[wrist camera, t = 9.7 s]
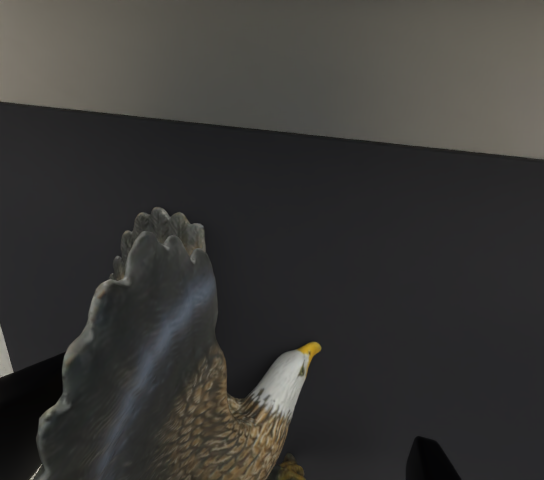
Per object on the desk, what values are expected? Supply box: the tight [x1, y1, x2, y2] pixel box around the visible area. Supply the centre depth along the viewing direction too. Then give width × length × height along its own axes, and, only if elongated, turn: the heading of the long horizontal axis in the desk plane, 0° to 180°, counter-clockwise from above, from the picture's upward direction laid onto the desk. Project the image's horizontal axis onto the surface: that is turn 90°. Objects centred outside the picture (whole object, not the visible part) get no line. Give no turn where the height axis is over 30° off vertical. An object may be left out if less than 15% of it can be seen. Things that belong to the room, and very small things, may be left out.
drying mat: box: [0, 102, 544, 480], centre depth 10 cm, size 20×14×1 cm
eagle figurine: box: [33, 207, 321, 480], centre depth 7 cm, size 8×7×9 cm
